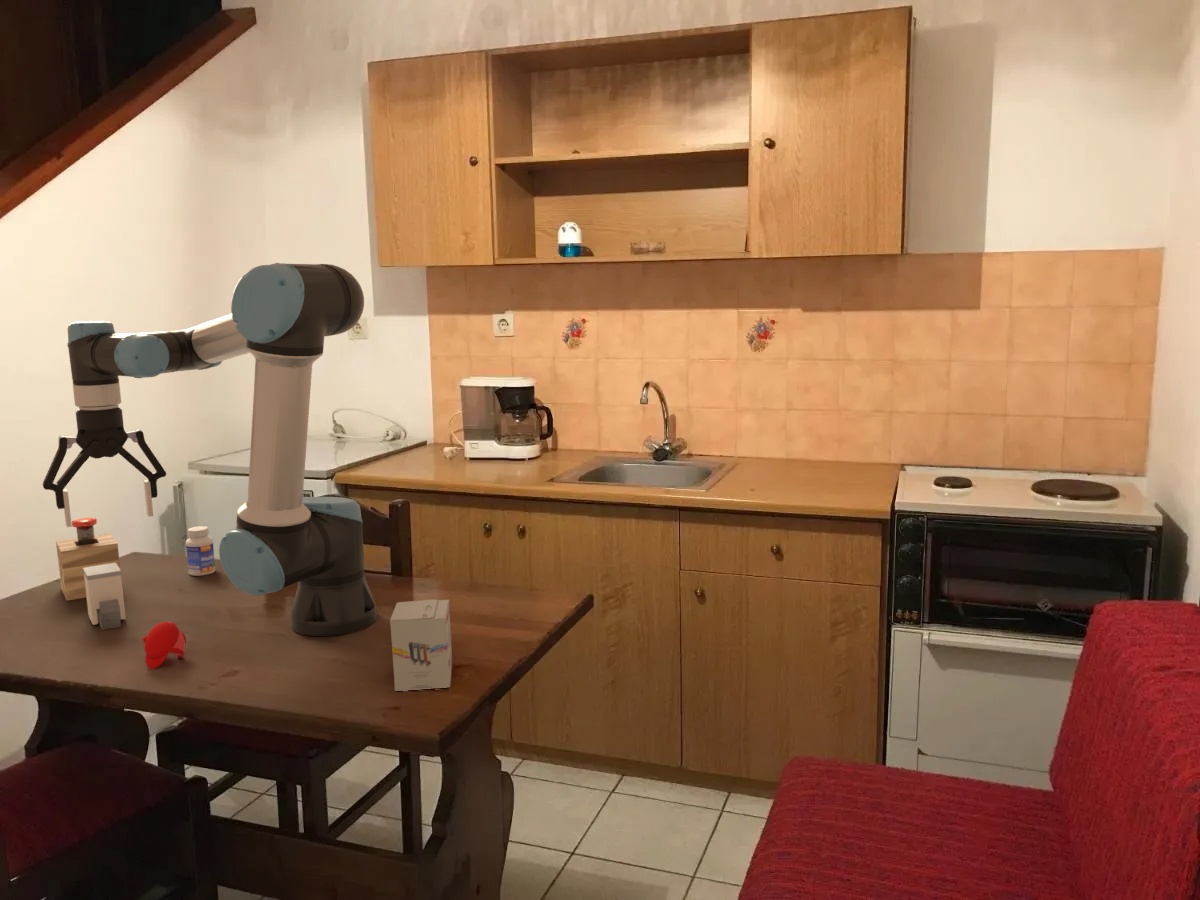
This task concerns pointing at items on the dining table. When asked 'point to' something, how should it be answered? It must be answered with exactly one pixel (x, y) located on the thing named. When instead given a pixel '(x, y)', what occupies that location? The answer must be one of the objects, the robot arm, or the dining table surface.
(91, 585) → the block
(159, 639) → the cap
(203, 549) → the pill bottle
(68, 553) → the wooden red button box
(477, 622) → the dining table surface
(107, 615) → the rail
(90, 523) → the red push button
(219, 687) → the dining table surface
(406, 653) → the ink box
